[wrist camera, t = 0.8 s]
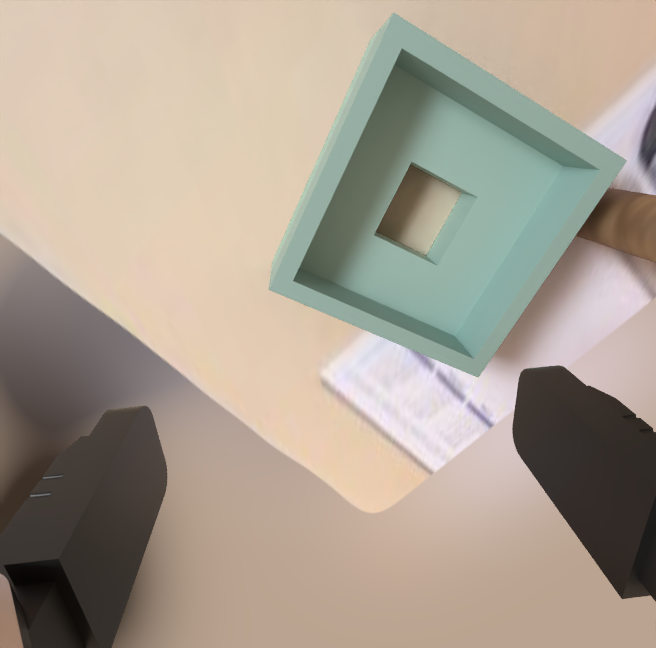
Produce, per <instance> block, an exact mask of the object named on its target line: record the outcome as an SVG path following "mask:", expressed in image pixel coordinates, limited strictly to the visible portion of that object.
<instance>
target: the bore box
mask: <svg viewBox="0 0 656 648" xmlns="http://www.w3.org/2000/svg"><path fill="white" fill-rule="evenodd" d="M626 161H627V160H625V159H624V158H622V157H621V156H619V155H617V154H616V153H614V152H613V151H611V150H610V149H608V148H606V147H605V146H603V145H602V144H600V143H598V142H597V141H595V140H594V139H592V138H591V137H589V136H587V135H586V134H584V133H583V132H581V131H580V130H578V129H576V128H575V127H573V126H572V125H570V124H569V123H567V122H565V121H564V120H562V119H561V118H559V117H557V116H556V115H554V114H553V113H551V112H550V111H548V110H546V109H545V108H543V107H542V106H540V105H539V104H537V103H535V102H534V101H532V100H531V99H529V98H528V97H526V96H524V95H523V94H521V93H520V92H518V91H516V90H515V89H513V88H512V87H510V86H509V85H507V84H505V83H504V82H502V81H501V80H499V79H498V78H496V77H494V76H493V75H491V74H490V73H488V72H487V71H485V70H483V69H482V68H480V67H479V66H477V65H476V64H474V63H472V62H471V61H469V60H468V59H466V58H464V57H463V56H461V55H460V54H458V53H457V52H455V51H453V50H452V49H450V48H449V47H447V46H446V45H444V44H442V43H441V42H439V41H438V40H436V39H435V38H433V37H431V36H430V35H428V34H427V33H425V32H423V31H422V30H420V29H419V28H417V27H416V26H414V25H412V24H411V23H409V22H408V21H406V20H405V19H403V18H401V17H400V16H398V15H397V14H395V13H393V14H392V15H391V16H390V18H389V19H388V20H387V21H386V22H385V24H384V25H383V26H382V27H381V28H380V29H379V31H378V32H377V33H376V34H375V35H374V37H373V38H372V39H371V41H370V43H369V45H368V47H367V50H366V52H365V54H364V56H363V59H362V61H361V63H360V65H359V68H358V70H357V72H356V74H355V77H354V79H353V81H352V83H351V86H350V88H349V90H348V92H347V95H346V97H345V99H344V101H343V104H342V106H341V108H340V111H339V113H338V115H337V117H336V120H335V122H334V124H333V126H332V129H331V131H330V133H329V135H328V138H327V140H326V142H325V144H324V147H323V149H322V151H321V153H320V156H319V158H318V160H317V162H316V165H315V167H314V169H313V171H312V174H311V176H310V178H309V180H308V183H307V185H306V187H305V190H304V192H303V194H302V196H301V199H300V201H299V203H298V205H297V208H296V210H295V212H294V214H293V217H292V219H291V221H290V223H289V226H288V228H287V230H286V232H285V235H284V237H283V239H282V241H281V244H280V246H279V248H278V250H277V253H276V255H275V257H274V259H273V262H272V269H271V277H270V284H269V290H271V291H273V292H275V293H278V294H280V295H283V296H285V297H287V298H290V299H292V300H295V301H297V302H299V303H302V304H304V305H306V306H309V307H311V308H314V309H316V310H318V311H321V312H323V313H326V314H328V315H330V316H333V317H335V318H337V319H340V320H342V321H345V322H347V323H349V324H352V325H354V326H357V327H359V328H361V329H364V330H366V331H368V332H371V333H373V334H376V335H378V336H380V337H383V338H385V339H388V340H390V341H392V342H395V343H397V344H399V345H402V346H404V347H407V348H409V349H411V350H414V351H416V352H419V353H421V354H423V355H426V356H428V357H430V358H433V359H435V360H438V361H440V362H442V363H445V364H447V365H449V366H452V367H454V368H457V369H459V370H461V371H464V372H466V373H469V374H471V375H473V376H476V377H479V376H480V374H481V373H482V371H483V370H484V369H485V367H486V366H487V364H488V363H489V361H490V360H491V358H492V357H493V355H494V354H495V352H496V351H497V350H498V348H499V347H500V345H501V344H502V342H503V341H504V339H505V338H506V336H507V335H508V333H509V332H510V331H511V329H512V328H513V326H514V325H515V323H516V322H517V320H518V319H519V317H520V316H521V315H522V313H523V312H524V310H525V309H526V307H527V306H528V304H529V303H530V301H531V300H532V298H533V297H534V296H535V294H536V293H537V291H538V290H539V288H540V287H541V285H542V284H543V282H544V281H545V279H546V278H547V277H548V275H549V274H550V272H551V271H552V269H553V268H554V266H555V265H556V263H557V262H558V261H559V259H560V258H561V256H562V255H563V253H564V252H565V250H566V249H567V247H568V246H569V244H570V243H571V242H572V240H573V239H574V237H575V236H576V234H577V233H578V231H579V230H580V228H581V227H582V225H583V224H584V223H585V221H586V220H587V218H588V217H589V215H590V214H591V212H592V211H593V209H594V208H595V206H596V205H597V204H598V202H599V201H600V199H601V198H602V196H603V195H604V193H605V192H606V190H607V189H608V188H609V186H610V185H611V183H612V182H613V180H614V179H615V177H616V176H617V174H618V173H619V171H620V170H621V169H622V167H623V166H624V164H625V163H626ZM410 164H411V165H412V166H414V167H416V168H418V169H420V170H422V171H423V172H425V173H427V174H429V175H431V176H433V177H435V178H436V179H438V180H440V181H442V182H444V183H446V184H448V185H449V186H451V187H453V188H455V189H457V190H459V191H460V192H462V194H461V196H460V198H459V199H458V201H457V203H456V205H455V206H454V208H453V210H452V212H451V213H450V215H449V217H448V219H447V220H446V222H445V224H444V226H443V227H442V229H441V231H440V233H439V234H438V236H437V238H436V240H435V241H434V243H433V245H432V247H431V248H430V250H429V252H428V254H427V255H426V256H425V255H423V254H421V253H419V252H417V251H415V250H413V249H411V248H409V247H407V246H404V245H402V244H400V243H398V242H396V241H394V240H392V239H390V238H388V237H386V236H384V235H382V234H380V233H378V232H376V230H377V228H378V226H379V224H380V222H381V220H382V218H383V216H384V214H385V212H386V210H387V209H388V207H389V205H390V203H391V201H392V199H393V197H394V195H395V193H396V191H397V189H398V187H399V185H400V183H401V181H402V180H403V178H404V176H405V174H406V172H407V170H408V168H409V166H410Z"/></svg>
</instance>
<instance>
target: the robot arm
mask: <svg viewBox="0 0 656 648" xmlns="http://www.w3.org/2000/svg"><path fill="white" fill-rule="evenodd" d="M513 439H514V443H515V447H516V449H517V452H518V454H519V455H520V457H521V458H522V460H523V461H524V463H525V464H526V465H527V467H528V468H529V469H530V471H531V472H532V474H533V475H534V477H535V478H536V479H537V481H538V482H539V484H540V485H541V486H542V488H543V489H544V491H545V492H546V493H547V495H548V496H549V498H550V499H551V500H552V502H553V503H554V504H555V506H556V507H557V509H558V510H559V512H560V513H561V514H562V516H563V517H564V519H565V520H566V521H567V523H568V524H569V526H570V527H571V528H572V530H573V531H574V532H575V534H576V535H577V537H578V538H579V539H580V541H581V542H582V544H583V545H584V547H585V548H586V549H587V550H588V552H589V553H590V555H591V556H592V558H593V559H594V560H595V562H596V563H597V564H598V566H599V567H600V569H601V570H602V572H603V573H604V575H605V576H606V577H607V578H608V580H609V582H610V583H611V584H612V586H613V587H614V589H615V590H616V591H617V593H618V594H619V596H621V598H622V599H626V598H632V597H641V596H649V595H651V596H652V597H653V599H654V600H655V601H656V432H653V428H652V427H650V426H649V425H648V424H647V423H646V422H644V421H643V420H642V419H641V418H636V414H634V413H633V412H632V411H631V410H629V409H628V408H627V407H626V406H625V405H623V404H622V403H621V402H620V401H618V400H617V399H616V398H614V397H612V396H610V395H608V394H605V393H604V392H601V391H599V390H597V389H595V388H593V387H591V386H586V385H585V384H584V383H582V382H581V381H580V380H579V379H578V378H576V377H575V376H574V375H573V374H572V373H571V372H569V371H568V370H567V369H566V368H565V367H563V366H549V367H539V368H529V369H524V370H523V371H522V372H521V374H520V377H519V382H518V390H517V397H516V405H515V413H514V420H513ZM166 486H167V466H166V462H165V458H164V454H163V451H162V447H161V444H160V440H159V436H158V433H157V429H156V426H155V422H154V419H153V415H152V413H151V410H150V409H149V408H148V407H147V406H139V407H129V408H119V409H110V410H107V411H106V412H105V413H104V414H103V416H102V417H101V419H100V420H99V422H98V424H97V425H96V427H95V428H94V430H93V431H92V433H91V434H90V436H85V437H80V438H79V439H78V440H77V441H75V442H74V443H73V444H72V445H70V446H69V447H68V448H67V449H65V450H64V451H63V452H62V453H60V454H59V455H58V456H57V457H56V459H55V460H54V462H53V463H52V464H51V466H50V467H49V469H48V470H47V472H46V473H45V474H44V475H43V480H40V481H39V483H38V484H37V485H36V487H35V488H34V490H33V491H32V492H31V493H30V499H26V500H25V502H24V503H23V505H22V506H21V507H20V509H19V510H18V512H17V513H16V514H15V516H14V517H13V518H12V520H11V521H10V523H9V524H8V525H7V527H6V528H5V529H4V531H3V532H2V534H1V535H0V648H111V647H112V644H113V642H114V638H115V636H116V633H117V630H118V627H119V624H120V622H121V618H122V615H123V613H124V610H125V607H126V604H127V601H128V599H129V596H130V593H131V590H132V587H133V584H134V581H135V578H136V576H137V572H138V570H139V567H140V564H141V561H142V558H143V555H144V552H145V550H146V547H147V544H148V541H149V538H150V535H151V532H152V530H153V527H154V524H155V521H156V518H157V515H158V512H159V510H160V506H161V504H162V501H163V497H164V495H165V491H166Z"/></svg>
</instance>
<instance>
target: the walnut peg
mask: <svg viewBox="0 0 656 648" xmlns="http://www.w3.org/2000/svg"><path fill="white" fill-rule="evenodd" d="M576 236H579V237H582V238H585V239H588V240H591V241H593V242H596V243H599V244H602V245H605V246H608V247H611V248H614V249H617V250H620V251H623V252H626V253H629V254H632V255H635V256H638V257H640V258H643V259H646V260H649V261H652V262H655V263H656V196H655V195H649V194H643V193H636V192H630V191H624V190H617V189H611V188H608V189H607V190H606V192H605V193H604V195H603V196H602V198H601V199H600V201H599V202H598V204H597V205H596V206H595V208H594V209H593V211H592V212H591V214H590V215H589V217H588V218H587V220H586V221H585V223H584V224H583V225H582V227H581V228H580V230H579V231H578V233H577V234H576Z"/></svg>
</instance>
